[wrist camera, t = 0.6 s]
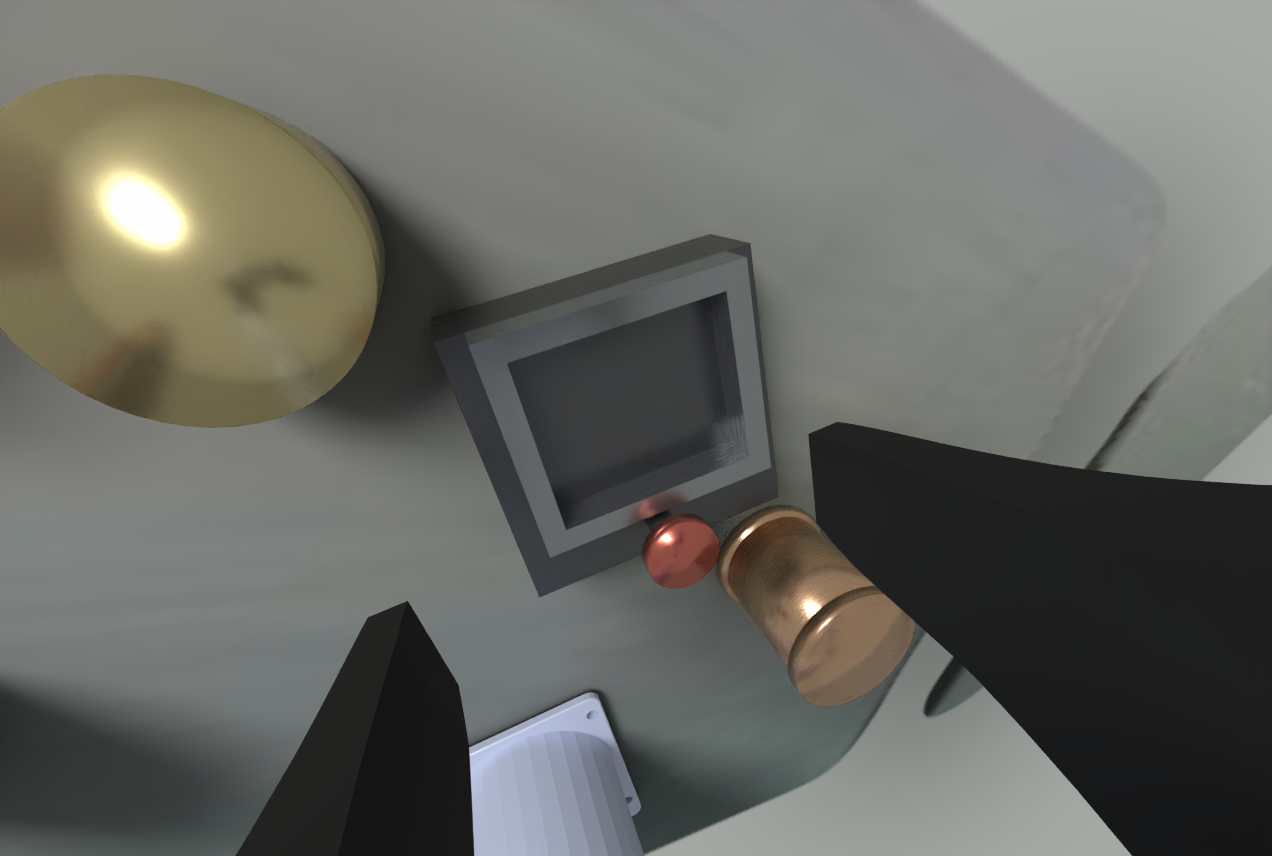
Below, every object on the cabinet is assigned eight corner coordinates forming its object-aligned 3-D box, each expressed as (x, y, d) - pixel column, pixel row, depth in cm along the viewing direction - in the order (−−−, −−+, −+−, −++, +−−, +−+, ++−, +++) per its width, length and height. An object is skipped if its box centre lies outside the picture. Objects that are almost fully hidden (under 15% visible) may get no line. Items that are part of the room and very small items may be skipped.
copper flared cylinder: (816, 571, 26) (912, 669, 21) (724, 613, 25) (802, 727, 20) (810, 488, 24) (916, 575, 19) (709, 531, 23) (792, 636, 18)
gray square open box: (743, 464, 22) (815, 530, 18) (526, 552, 20) (553, 646, 16) (710, 234, 18) (795, 253, 14) (430, 319, 16) (435, 369, 12)
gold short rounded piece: (423, 327, 16) (424, 370, 13) (184, 400, 15) (115, 470, 11) (316, 72, 13) (279, 38, 10) (3, 136, 12) (-167, 123, 8)
